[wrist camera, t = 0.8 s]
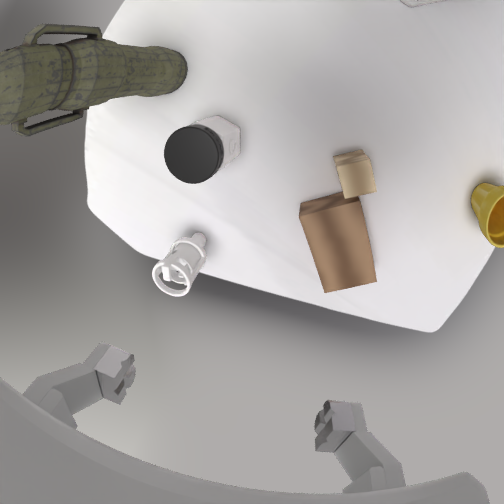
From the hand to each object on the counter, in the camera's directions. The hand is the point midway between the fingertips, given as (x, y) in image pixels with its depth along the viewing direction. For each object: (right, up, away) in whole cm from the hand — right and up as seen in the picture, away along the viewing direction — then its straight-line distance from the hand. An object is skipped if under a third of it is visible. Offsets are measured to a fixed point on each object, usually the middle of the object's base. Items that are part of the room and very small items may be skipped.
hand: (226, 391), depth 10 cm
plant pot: (+45, +16, +28) cm, 55 cm away
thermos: (-14, +37, +29) cm, 49 cm away
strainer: (-10, +8, +47) cm, 48 cm away
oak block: (+17, +20, +32) cm, 42 cm away
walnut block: (+17, +9, +40) cm, 44 cm away
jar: (-5, +25, +35) cm, 43 cm away
